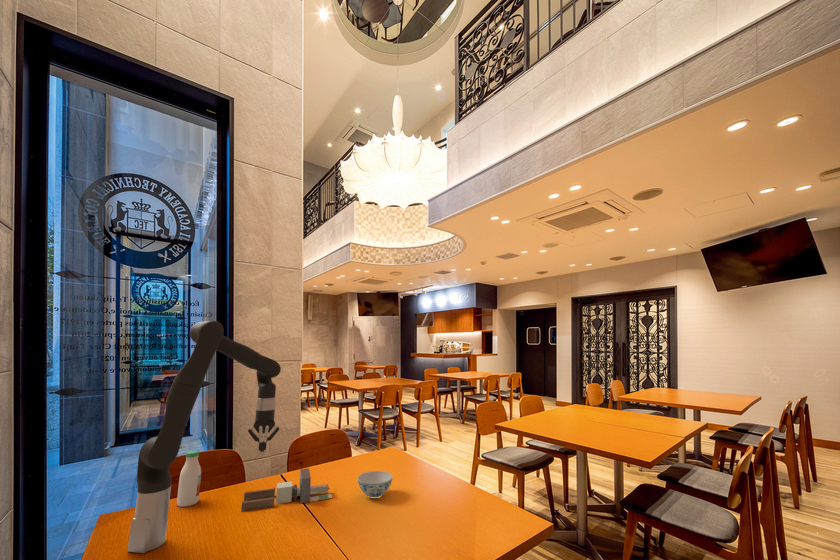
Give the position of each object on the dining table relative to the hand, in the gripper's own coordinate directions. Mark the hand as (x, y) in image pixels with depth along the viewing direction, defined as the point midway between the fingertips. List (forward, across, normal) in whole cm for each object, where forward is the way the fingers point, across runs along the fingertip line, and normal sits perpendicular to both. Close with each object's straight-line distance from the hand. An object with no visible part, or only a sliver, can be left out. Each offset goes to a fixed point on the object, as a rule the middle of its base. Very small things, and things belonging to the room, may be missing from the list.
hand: (262, 451), depth 155 cm
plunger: (+20, +21, -1) cm, 29 cm away
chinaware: (+20, +47, -10) cm, 52 cm away
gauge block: (+20, +10, 0) cm, 22 cm away
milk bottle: (+21, -27, +10) cm, 36 cm away
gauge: (+20, +12, 0) cm, 23 cm away
